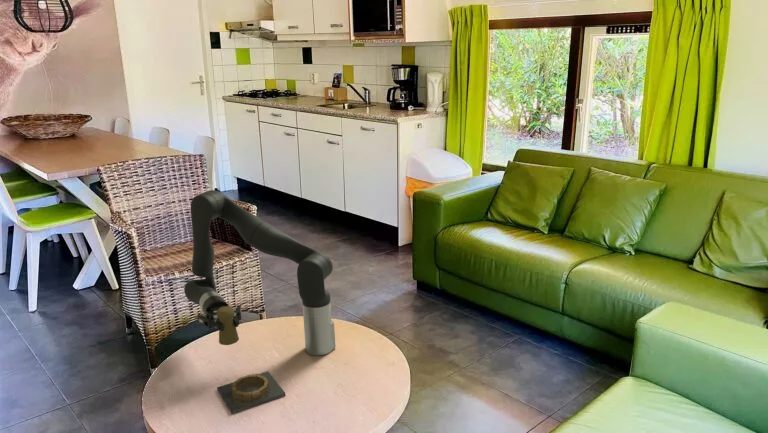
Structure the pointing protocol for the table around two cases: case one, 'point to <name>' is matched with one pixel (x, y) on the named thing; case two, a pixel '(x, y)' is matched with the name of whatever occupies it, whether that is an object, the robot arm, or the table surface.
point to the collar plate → (250, 392)
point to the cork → (227, 326)
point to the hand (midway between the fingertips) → (229, 326)
